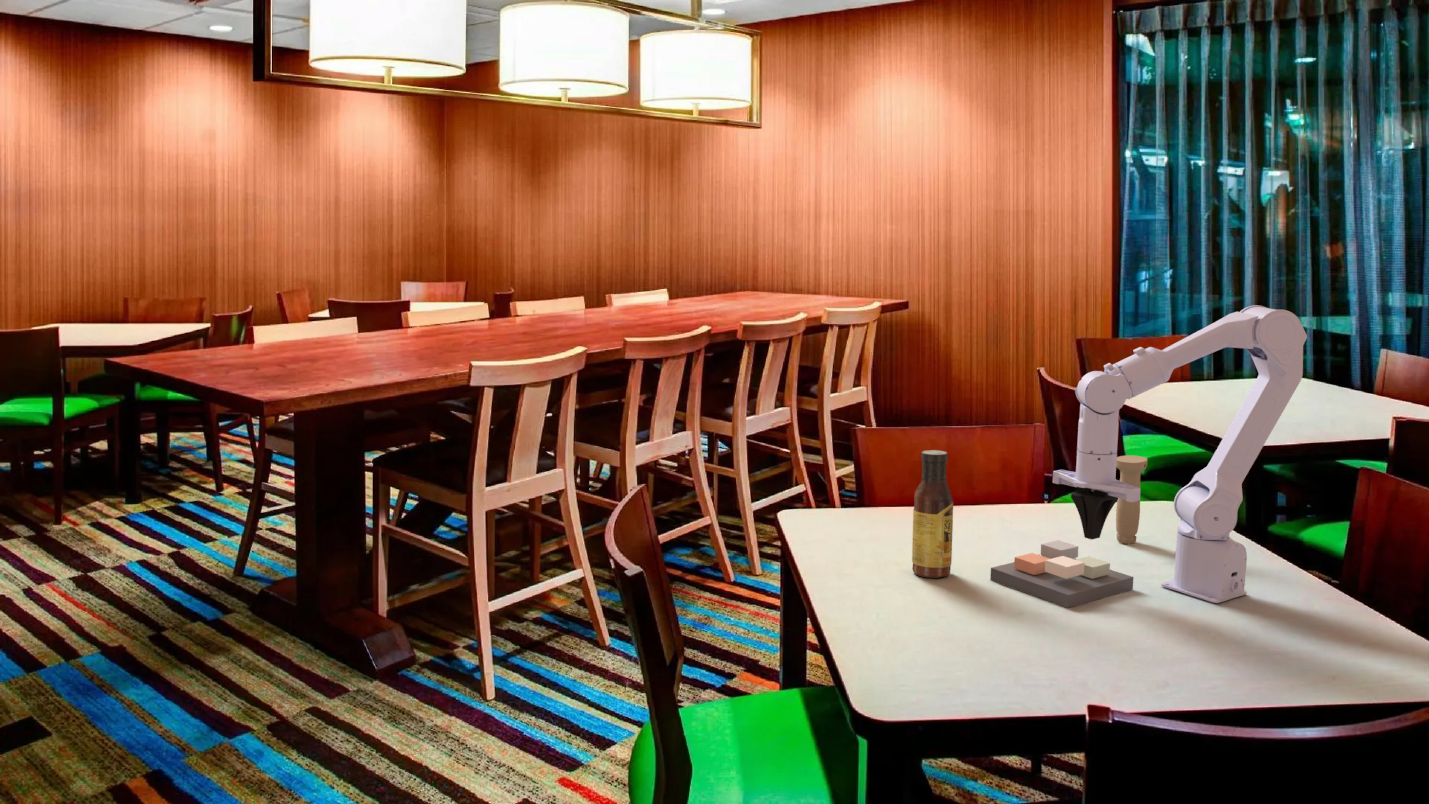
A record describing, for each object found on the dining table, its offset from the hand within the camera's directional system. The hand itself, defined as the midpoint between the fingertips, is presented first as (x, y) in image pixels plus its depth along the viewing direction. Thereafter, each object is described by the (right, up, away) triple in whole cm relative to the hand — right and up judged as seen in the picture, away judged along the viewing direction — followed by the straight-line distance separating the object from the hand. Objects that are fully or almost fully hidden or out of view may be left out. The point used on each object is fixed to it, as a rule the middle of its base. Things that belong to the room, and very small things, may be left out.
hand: (1092, 537), depth 165 cm
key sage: (0, -6, +1) cm, 6 cm away
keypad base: (-4, -8, +2) cm, 9 cm away
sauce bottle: (-23, -7, +8) cm, 25 cm away
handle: (+15, -4, +25) cm, 29 cm away
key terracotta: (-8, -5, +3) cm, 10 cm away
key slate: (-3, -4, +6) cm, 7 cm away
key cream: (-5, -5, -2) cm, 7 cm away
